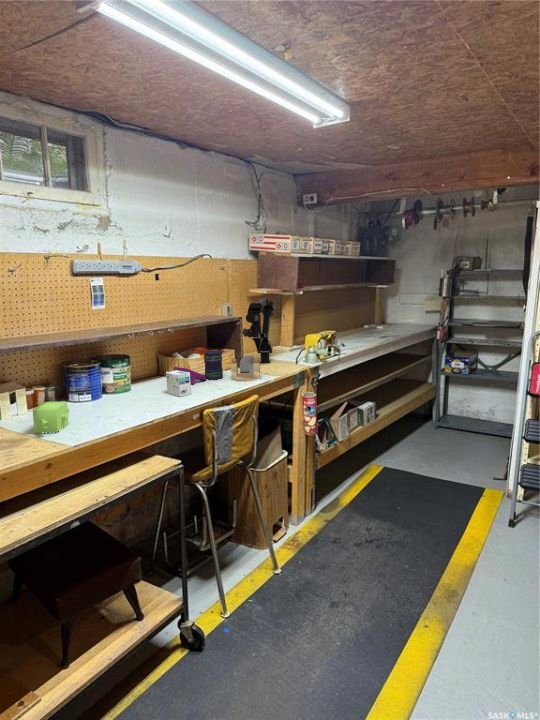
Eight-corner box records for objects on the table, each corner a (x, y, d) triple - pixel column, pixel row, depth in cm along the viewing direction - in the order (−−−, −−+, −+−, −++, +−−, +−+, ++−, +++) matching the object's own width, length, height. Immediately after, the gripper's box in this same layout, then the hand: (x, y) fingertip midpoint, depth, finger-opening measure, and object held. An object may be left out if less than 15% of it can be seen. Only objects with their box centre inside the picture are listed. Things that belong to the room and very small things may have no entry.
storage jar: (215, 381, 248) (214, 353, 246) (201, 379, 254) (199, 352, 251) (226, 377, 257) (225, 350, 254) (212, 376, 262) (211, 349, 259)
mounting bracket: (193, 390, 254) (169, 382, 240) (197, 375, 256) (174, 366, 242) (206, 392, 249) (182, 384, 235) (210, 377, 250) (186, 368, 236)
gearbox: (57, 438, 166) (55, 413, 164) (28, 438, 166) (26, 412, 164) (76, 422, 184) (74, 399, 182) (50, 422, 183) (48, 398, 181)
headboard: (232, 379, 252) (231, 357, 250) (260, 378, 251) (259, 357, 249) (230, 381, 247) (229, 359, 245) (259, 381, 245) (258, 359, 243)
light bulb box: (191, 394, 221) (190, 372, 220) (180, 397, 217) (178, 374, 215) (178, 391, 229) (176, 369, 227) (166, 394, 224) (165, 372, 222)
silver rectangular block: (245, 372, 269) (244, 355, 267) (254, 372, 269) (253, 355, 267) (240, 380, 249) (239, 361, 248) (249, 380, 249) (249, 361, 247)
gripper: (247, 325, 290) (249, 350, 290) (238, 323, 271) (240, 350, 272) (265, 323, 287) (266, 349, 287) (257, 322, 269) (259, 349, 269)
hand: (258, 349), depth 279 cm, fingers closed
